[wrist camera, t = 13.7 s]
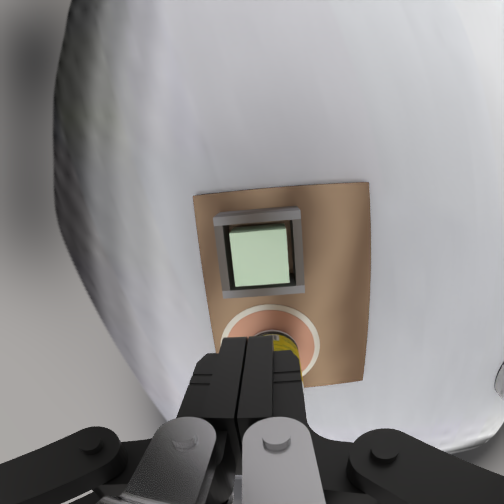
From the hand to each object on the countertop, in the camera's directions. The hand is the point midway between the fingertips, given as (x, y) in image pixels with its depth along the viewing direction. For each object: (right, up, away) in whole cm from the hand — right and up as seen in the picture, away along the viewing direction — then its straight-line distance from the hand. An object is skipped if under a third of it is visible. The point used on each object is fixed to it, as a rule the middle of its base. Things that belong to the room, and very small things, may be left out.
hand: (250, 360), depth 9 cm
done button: (+1, +4, +14) cm, 15 cm away
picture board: (+3, -1, +17) cm, 18 cm away
